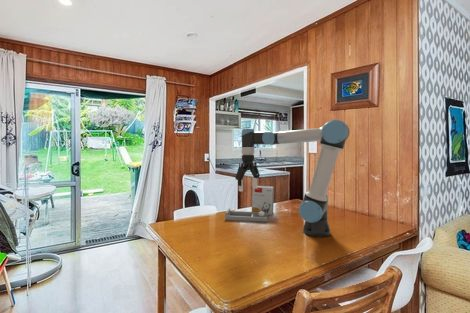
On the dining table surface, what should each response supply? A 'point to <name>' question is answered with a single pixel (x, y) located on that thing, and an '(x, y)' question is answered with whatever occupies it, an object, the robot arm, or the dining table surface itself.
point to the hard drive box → (263, 199)
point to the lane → (245, 216)
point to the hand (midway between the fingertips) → (248, 189)
